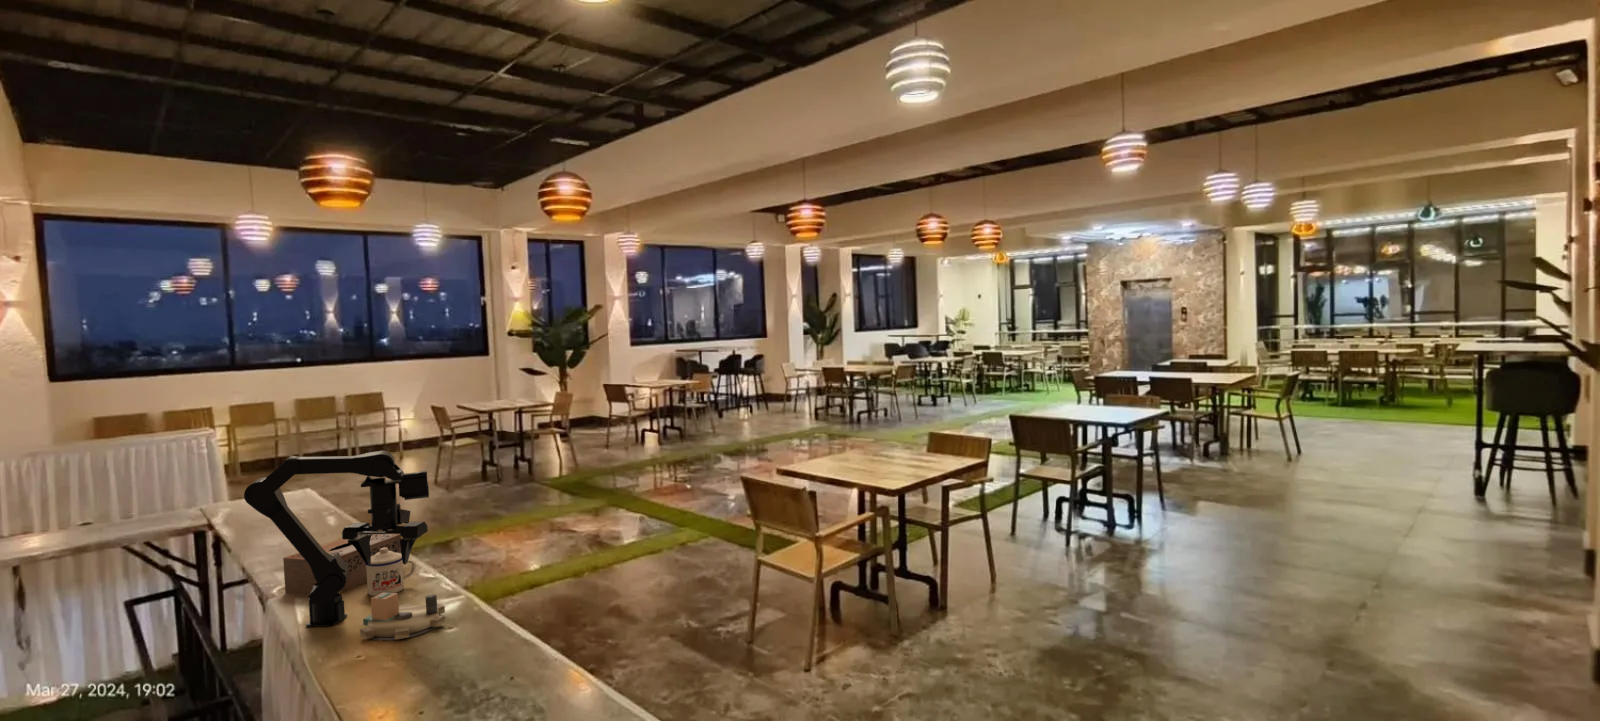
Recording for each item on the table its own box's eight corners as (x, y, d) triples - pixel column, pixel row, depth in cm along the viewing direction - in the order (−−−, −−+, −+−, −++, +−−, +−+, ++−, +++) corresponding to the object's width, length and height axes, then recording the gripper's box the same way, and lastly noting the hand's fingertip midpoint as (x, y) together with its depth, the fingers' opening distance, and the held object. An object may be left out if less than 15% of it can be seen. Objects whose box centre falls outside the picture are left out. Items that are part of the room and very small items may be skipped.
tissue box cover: (328, 598, 204) (326, 561, 204) (285, 594, 208) (283, 557, 208) (402, 567, 229) (400, 534, 229) (362, 564, 233) (360, 531, 233)
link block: (386, 620, 181) (385, 598, 181) (371, 619, 182) (370, 597, 181) (398, 613, 185) (397, 592, 184) (384, 612, 186) (383, 591, 185)
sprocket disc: (365, 617, 188) (364, 594, 188) (445, 604, 195) (443, 582, 195) (357, 645, 171) (356, 621, 171) (444, 631, 178) (443, 607, 178)
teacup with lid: (369, 599, 202) (367, 555, 201) (364, 590, 209) (361, 547, 209) (419, 589, 209) (417, 546, 209) (412, 580, 216) (410, 539, 216)
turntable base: (350, 641, 175) (350, 639, 175) (389, 614, 191) (389, 612, 191) (421, 640, 175) (420, 638, 175) (453, 613, 191) (453, 611, 191)
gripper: (436, 494, 199) (439, 553, 200) (365, 495, 200) (368, 555, 201) (414, 504, 188) (417, 567, 189) (338, 506, 189) (342, 569, 190)
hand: (387, 564), depth 192 cm, fingers open, 9 cm apart
